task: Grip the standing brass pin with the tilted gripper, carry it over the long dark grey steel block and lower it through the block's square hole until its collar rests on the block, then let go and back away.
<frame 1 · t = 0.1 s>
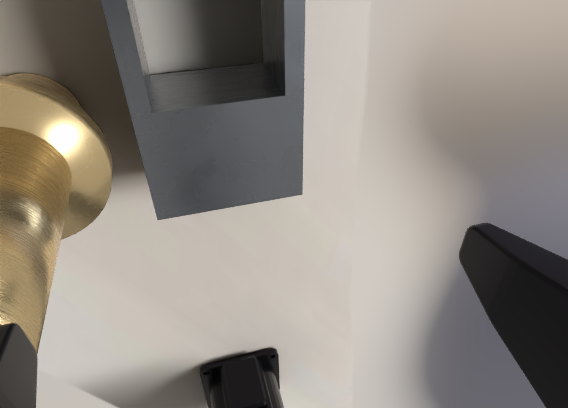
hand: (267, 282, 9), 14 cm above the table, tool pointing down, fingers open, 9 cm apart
steel hitch block: (201, 19, 19), on the table
brass pin: (35, 116, 19), on the table
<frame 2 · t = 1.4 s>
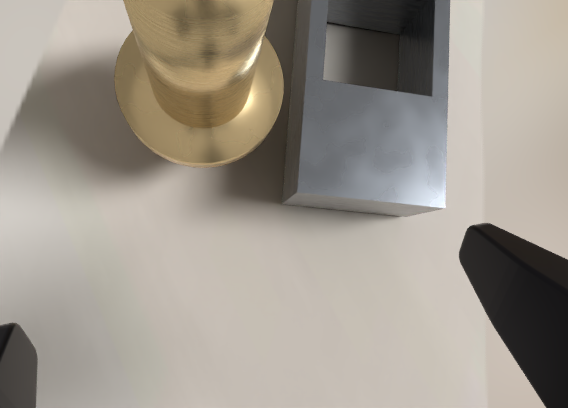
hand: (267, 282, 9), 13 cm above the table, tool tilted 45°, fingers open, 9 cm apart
steel hitch block: (352, 79, 24), on the table
brass pin: (203, 120, 22), on the table
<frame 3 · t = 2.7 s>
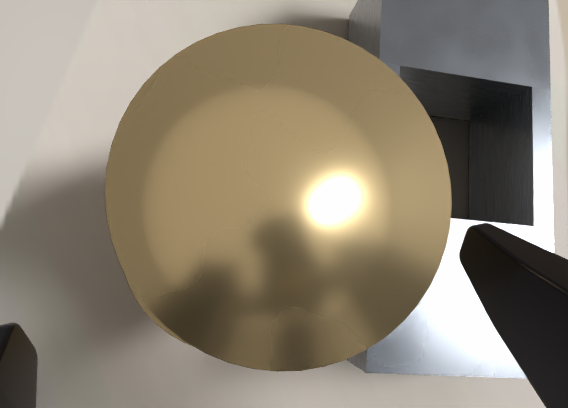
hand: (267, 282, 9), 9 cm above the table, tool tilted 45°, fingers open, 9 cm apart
steel hitch block: (414, 180, 19), on the table
brass pin: (230, 242, 18), on the table
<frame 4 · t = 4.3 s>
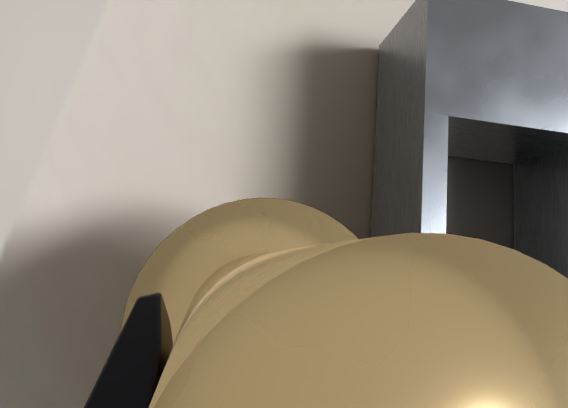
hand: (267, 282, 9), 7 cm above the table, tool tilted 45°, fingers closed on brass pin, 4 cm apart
steel hitch block: (453, 234, 17), on the table
brass pin: (247, 311, 15), on the table, touching gripper
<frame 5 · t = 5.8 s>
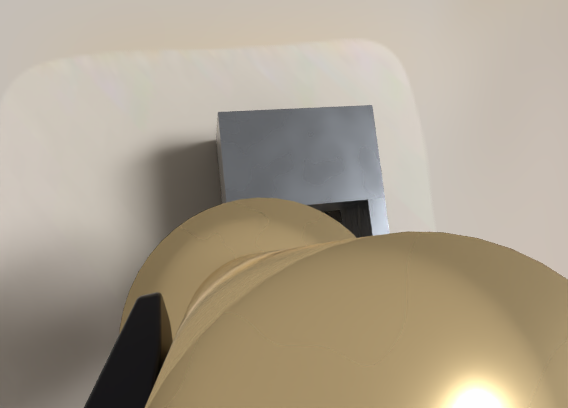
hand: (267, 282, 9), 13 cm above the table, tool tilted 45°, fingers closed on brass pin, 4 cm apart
steel hitch block: (297, 276, 22), on the table
brass pin: (246, 311, 15), point 6 cm above the table, touching gripper
when the fingers open (8 cm above the table, at t = 7.6 s): brass pin stays where it is, resting on steel hitch block.
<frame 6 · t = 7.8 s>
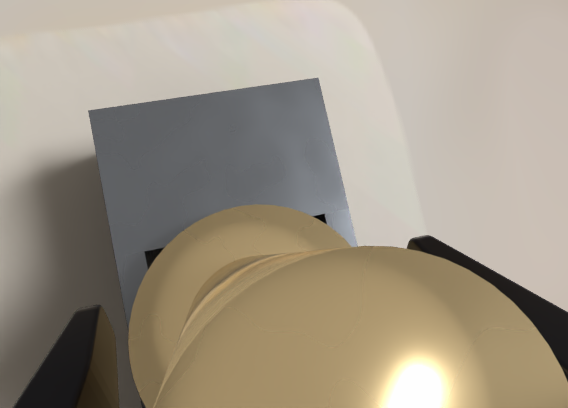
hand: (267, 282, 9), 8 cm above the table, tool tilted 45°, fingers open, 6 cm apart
steel hitch block: (248, 321, 16), on the table
brass pin: (245, 309, 16), resting on steel hitch block
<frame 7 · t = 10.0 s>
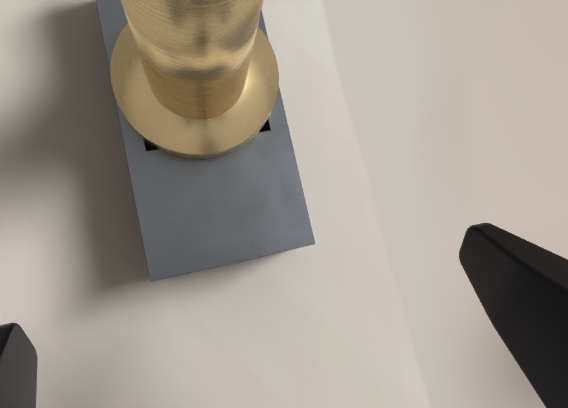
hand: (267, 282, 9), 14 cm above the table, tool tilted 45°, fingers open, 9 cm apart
steel hitch block: (201, 121, 22), on the table
brass pin: (199, 113, 22), resting on steel hitch block
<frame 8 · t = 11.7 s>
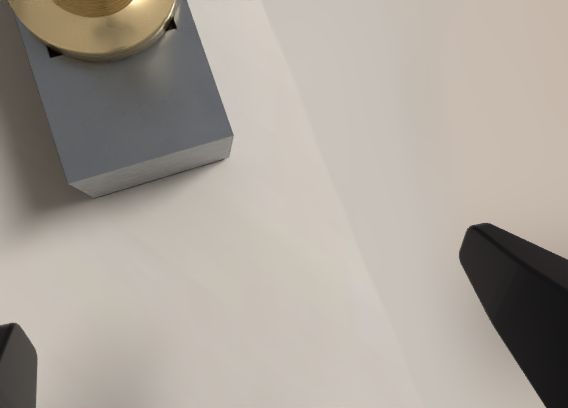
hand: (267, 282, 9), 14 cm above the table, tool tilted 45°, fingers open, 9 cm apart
steel hitch block: (118, 42, 22), on the table
brass pin: (116, 34, 22), resting on steel hitch block
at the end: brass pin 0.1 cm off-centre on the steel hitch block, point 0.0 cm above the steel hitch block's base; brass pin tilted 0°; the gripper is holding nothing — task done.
